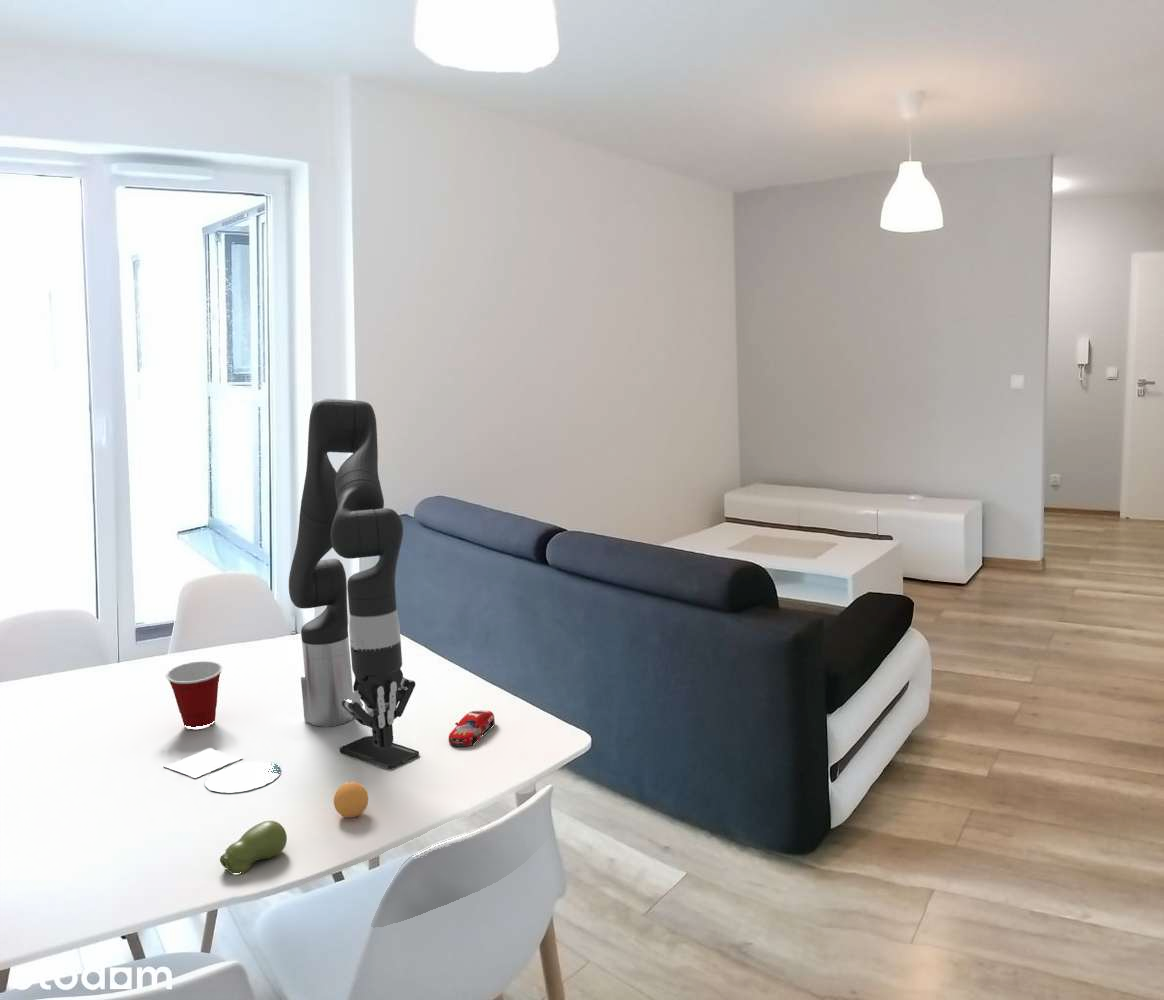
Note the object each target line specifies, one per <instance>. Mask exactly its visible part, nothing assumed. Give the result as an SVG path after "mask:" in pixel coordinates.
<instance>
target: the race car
mask: <svg viewBox="0 0 1164 1000" xmlns="http://www.w3.org/2000/svg"><path fill="white" fill-rule="evenodd" d="M495 720H496V719H495V715H494V712H493V711H491V710H484V709H483V710H482V709H478V710H474V711H473V710H472V711H469V712H468V713H466V714H465V715H464V716H463V717H462V718H460V720H459V721H458V722H455V723H454V725H456V726H455V727H454V729H452V730H451V732H450V733H449V734H448V739H447V740H448V742H449V744H450V745H452V746H456V747H468V746H474V745H475V744H476V743H477V742H478V741H480V739H481V738H482V737H481V736H482V735H484V734H485V733H486V732H487V731H488V730H489V729H490V728H491V727H492V726H493V725H494V726H495V724H496V723H495V722H496V721H495ZM494 726H493V727H494ZM489 731H490V730H489ZM489 731H488V732H489ZM488 732H487V733H488ZM487 733H486V734H487ZM486 734H485V735H486ZM485 735H484V736H485ZM480 737H481V738H480ZM477 740H478V741H477ZM475 742H476V743H475ZM474 743H475V744H474ZM473 744H474V745H473Z"/></svg>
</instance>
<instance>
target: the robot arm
mask: <svg viewBox="0 0 1164 1000" xmlns="http://www.w3.org/2000/svg"><path fill="white" fill-rule="evenodd" d="M308 422H309V423H308V432H307V433H308V435H307V436H308V438H307V458H306V472H305V478H304V484H303V489H302V494H301V501H300V510H299V521H298V529H297V531H298V532H297V539H296V545H295V550H294V554H293V559H292V562H291V565H290V569H289V576H288V593H289V598H290V600H291V603H292V604H293V605H294V606H295V607H296V608H297V609H298V608H299V609H305V610H306V609H313V608H320V607H325V606H326V608H325V609H324V610H323V612H321V613H320V614H319V615H318V616H316V617H314V618H313V619H311V620H309V621H307V622H306V623H305V624H304V625H303V626H302V627H301V629H300V635H301V636H300V637H301V646H302V647H301V648H302V656H303V669H304V674H303V675H302V676H301V678H300V685H301V697H302V706H303V719H304V722H307V723H309V724H311V725H312V726H316V727H334V726H338V725H342V724H346V723H348V722H350V721H352V720H353V719H355V720H356V722H358V723H359V725H362V726H366V727H368V728H371V733H372V735H371V736H373V744H374V746H376V748H377V749H380V750H386V749H388V748H390V747H392V743H394V731H393V729H394V728H393V724H394V722H395V719H397V718H400V717H402V716H403V714H404V711H405V709H406V707H407V704H408V702H409V701H410V698H411V696H412V694H413V692H414V690H415V687H416V681H415V680H411V679H407V678H406V677H404V673H403V671H402V669H401V668H402V666H403V655H402V640H401V629H400V627H401V626H400V619H399V615H398V610H397V598H396V597H397V596H396V570H397V565H398V559H399V555H400V550H401V547H402V542H403V534H404V525H403V521H402V518H401V516H400V515H399V514H398V513H397V511H396V510H394V509H392V508H384V506H385V500H384V495H383V490H382V486H381V482H380V478H379V469H378V464H379V462H378V461H379V460H378V459H379V455H378V454H379V452H378V449H379V448H378V446H379V445H378V429H377V427H378V426H377V419H376V414H375V411H374V408H373V406H372V405H371V404H370V403H369V402H367V401H364V400H363V401H362V400H355V399H353V400H352V399H341V398H339V399H338V398H321V399H320V398H319V399H317V400H316V401H315V402H313V405H312V407H311V411H310V414H309V421H308ZM328 453H341V454H342V453H344V454H351V455H350V456H349V457H348V458H346V460H344V461H343V463H342V464H341V465H340V467H339V468H338V470H336V469H335V468H334V467H333V464H332V463H331V462H332V461H331V460H330V458H329V455H328ZM331 549H333V550H334V551H335V553H336V554H337V555H338V556H340V557H341V558H344V559H351V560H352V559H359V558H370V557H371V558H372V557H379V560H378V561H377V562H376V564H374V566H372V567H370V568H368V569H365V570H364V569H363V570H362V571H358V572H356V573H353V574H352V575H350V576H349V578H348V579H347V576H346V575H347V574H346V571H345V567H344V565H343V563H342V562H341V560H340V559H337V558H328V559H327V558H326V559H323V557H325V555H327V553H328V552H330V551H331ZM348 609H349V611H348ZM348 612H349V614H348ZM348 615H349V617H348ZM352 672H353V675H354V683H353V678H352V676H353V675H352ZM363 703H364V704H363ZM363 705H364V708H363Z"/></svg>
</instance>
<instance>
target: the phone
mask: <svg viewBox="0 0 1164 1000" xmlns="http://www.w3.org/2000/svg"><path fill="white" fill-rule="evenodd" d="M338 751H339V753H340V754H342V755H345V756H348V757H351V758H353V759H356V760H358V759H359V760H360V761H361V762H364V763H368V764H370V765H373V766H375V767H376V766H377V767H378V768H382V769H385V770H393V769H396V768H398V767H401V766H403V765H404V764H405V763H409V762H411V761H414V760H416V759H418V758H419V757H420V752H419V750H416V749H413V748H410V747H406V746H404V745H401V744H398V743H394V742H393V743H392V747H390V748H388V749H386V750H380V749H377V748H376V746H374V744H373V735H367V736H363V737H361V738H359V739H356V740H354V741H352V742H349V743H347V744H344V745H342V746H340V747H339V748H338ZM415 758H416V759H415ZM413 759H414V760H413Z"/></svg>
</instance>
